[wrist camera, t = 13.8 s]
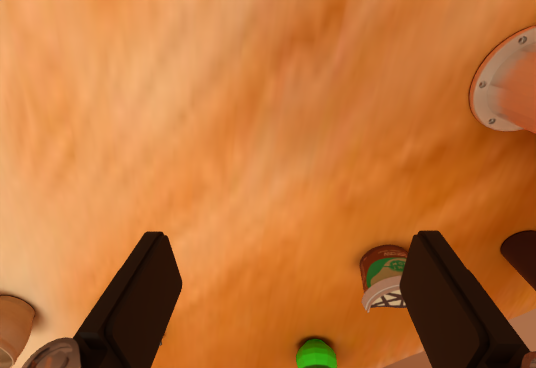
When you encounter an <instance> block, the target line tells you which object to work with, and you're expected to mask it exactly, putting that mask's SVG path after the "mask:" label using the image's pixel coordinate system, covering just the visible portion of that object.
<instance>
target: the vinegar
mask: <svg viewBox="0 0 536 368" xmlns="http://www.w3.org/2000/svg"><path fill="white" fill-rule="evenodd" d="M501 253H502V255H503V256H504V257H505V258H506V260H507V261H508V262H509V263H510V264H511V265H512V266H513V267H514V268H515V269H516V270H517V271H518V272H519V273H520V275H521V276H522V277H523V278H524V279H525V280H526V281H527V282H528V283H529V284H530V285H531V286H532V287H533V288H534V289H535V291H536V232H534V231H526V232H521V233H517V234H515V235H513V236H511V237H510V238H508V239H507V240H506V241H505V242H504V243H503V245H502V248H501Z"/></svg>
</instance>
